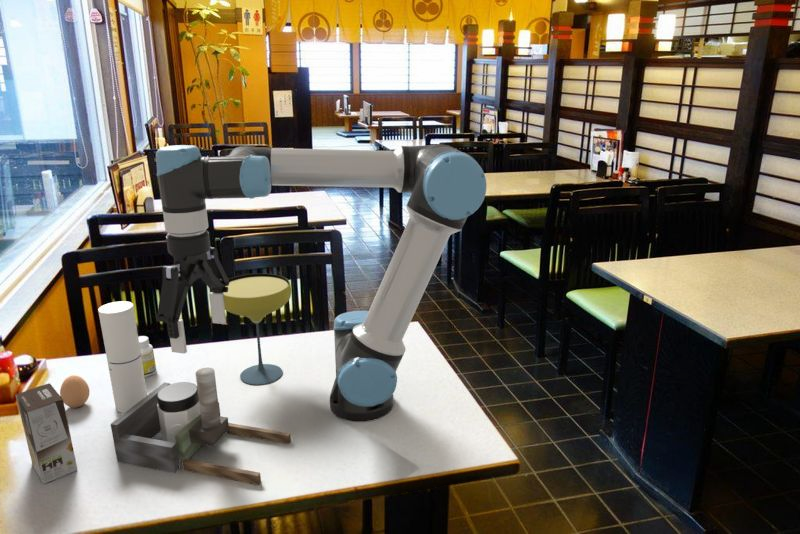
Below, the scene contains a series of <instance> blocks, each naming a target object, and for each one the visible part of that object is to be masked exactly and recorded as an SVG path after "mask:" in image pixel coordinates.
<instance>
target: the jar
mask: <svg viewBox="0 0 800 534" xmlns="http://www.w3.org/2000/svg"><path fill="white" fill-rule="evenodd" d="M157 400H158V404H157V409H158V416H159V422H160V429H161V431H160V435H161V440H162V441H167V442H173V443H176V440H175V435H176V434H177V433H178V432H179V431H180V430H181V429H183V428H184V427H185V426H186V425H187V424H189V423H190V422H191V421H193V420H194V419H195V418H196V417H198V416H199V415H200V414H201V412H200V405H199V397H198V389H197V384H195V383H193V382H188V381H180V382H174V383H170V385H168V386H166V387H164V388H162V389H161V390H160V391H159V392H158V394H157Z"/></svg>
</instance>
